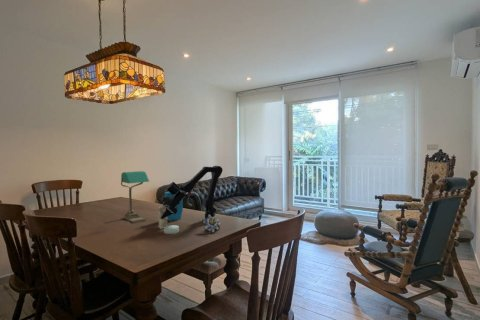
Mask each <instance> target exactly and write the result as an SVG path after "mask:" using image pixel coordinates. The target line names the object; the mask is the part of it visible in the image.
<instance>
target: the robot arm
mask: <svg viewBox="0 0 480 320" xmlns="http://www.w3.org/2000/svg"><path fill="white" fill-rule="evenodd" d="M207 173H210V175H211V179H210V182H209V186H208V190H207V195H206V197H205V198H204V197H203V198H202V202H201V206H202V208H203V210H204V211H205V213H204V218H205V220H206V218H207V217H208V215H210V216H212V217H214V216H216V213H217V209H216V208H215V207H214V197H215V191H216V189H217V184H218V181H219V179H220V177H221V175H222V173H223V168H222V166H220V165H213V166H203V167H202V168H201V169H200V170H199V171H198V173H196V174H195V175H194V176H193V177H192V178H191V179H190V180H188V181H186V182H184V183H183V184H182V185H179V186H178V184H176V182H174V181H172V182H171V183H169V184H168V185H167V186H166V187H165V190H166V192H170V193H171V194H172V195H173V194H174V195H175V194H176V195H175V196H174V197H171V198H170V197H168V196H167V197H165V195H162V197H161V198H160V201H161V202H162V207H166V211H165V212H164V214H163V215H162V217H161V219H163V218H165V217H167V216H170V215H172V214H173V213H174V214H176V213H177V209H176V208H175V207H176V206H177V205H178V204H180V202H181V201H182V199H183V200H184V199H185V198H186V199H188V198H189V193H191V192H192V191H193V190H194V188H195V186H196V184H197V183H198V182H200V181H201V180H202V178H203V177H204V176H206V175H207ZM181 191H182V192H181Z"/></svg>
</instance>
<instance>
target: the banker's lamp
mask: <svg viewBox="0 0 480 320" xmlns="http://www.w3.org/2000/svg"><path fill="white" fill-rule="evenodd" d="M149 182H150V180H149V177H148V175H147V173H146V172H145V171H143V170H140V171H139V170H137V171H124V172H122V173H121V176H120V185H121V186H122V187H124V188H128V196H129V197H128V199H129V203H128V205H129V210H127V212H126V213H125V214H124V215H123V218H124V219H125V220H127V221H129V222H131V223H132V224H136V223H141V222H146V221H147V220H146V218H145V217H141V216H140V215H139V213H137V212H135V210H134V209H133V208H132V207H133V203H132V202H133V201H132V198H133V197H132V189H133V188H134V187H137V186H140V185H143V183H149ZM123 183H125V184H134V185H132V186H128V185H125V184H123Z"/></svg>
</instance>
